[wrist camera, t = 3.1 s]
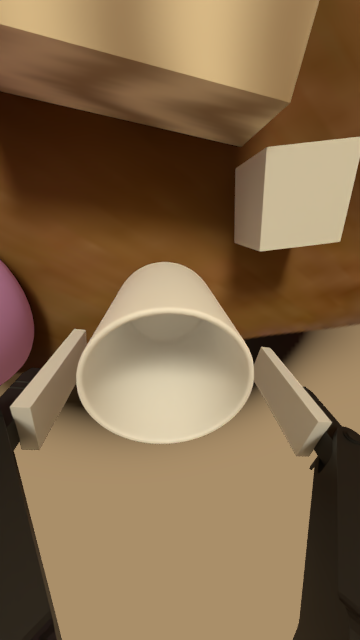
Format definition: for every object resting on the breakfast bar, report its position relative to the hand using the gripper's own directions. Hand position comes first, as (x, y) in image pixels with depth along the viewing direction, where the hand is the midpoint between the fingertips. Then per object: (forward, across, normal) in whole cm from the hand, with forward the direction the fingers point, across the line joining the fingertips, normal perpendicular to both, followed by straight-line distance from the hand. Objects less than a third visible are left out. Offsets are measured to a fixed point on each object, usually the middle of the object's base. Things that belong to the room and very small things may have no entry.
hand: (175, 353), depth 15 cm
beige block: (+5, +6, +11) cm, 13 cm away
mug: (+5, 0, 0) cm, 5 cm away
